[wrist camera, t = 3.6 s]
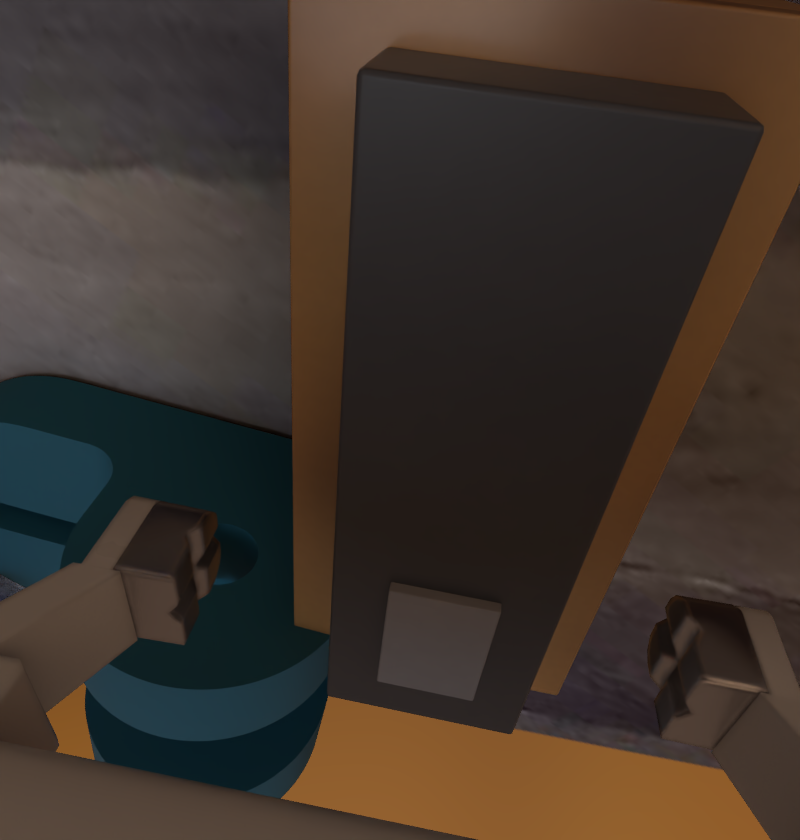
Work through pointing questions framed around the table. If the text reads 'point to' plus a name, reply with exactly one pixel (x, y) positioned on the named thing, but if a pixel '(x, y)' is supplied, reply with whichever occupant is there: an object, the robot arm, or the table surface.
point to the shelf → (547, 48)
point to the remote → (503, 353)
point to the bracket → (219, 610)
